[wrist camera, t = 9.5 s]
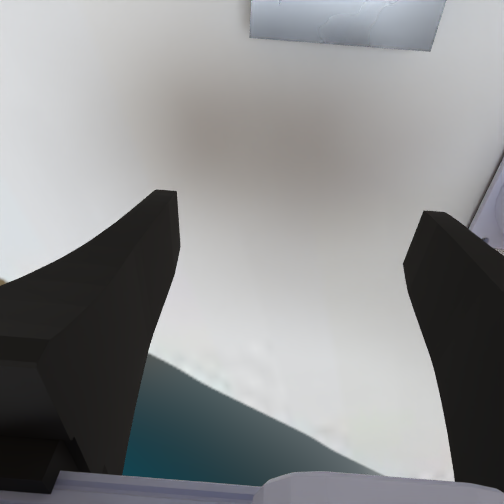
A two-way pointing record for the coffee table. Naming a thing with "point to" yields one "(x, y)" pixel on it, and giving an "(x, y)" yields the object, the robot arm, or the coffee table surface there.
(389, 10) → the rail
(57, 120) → the coffee table surface
